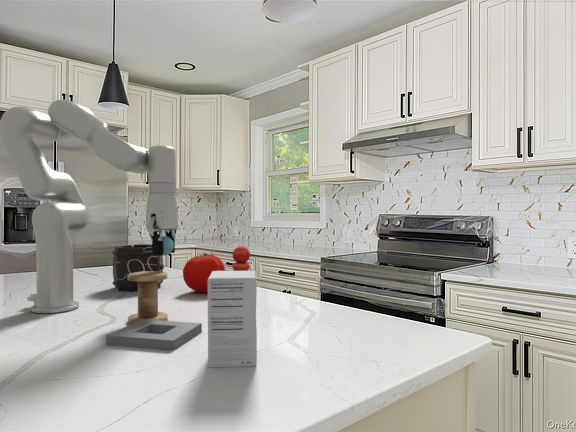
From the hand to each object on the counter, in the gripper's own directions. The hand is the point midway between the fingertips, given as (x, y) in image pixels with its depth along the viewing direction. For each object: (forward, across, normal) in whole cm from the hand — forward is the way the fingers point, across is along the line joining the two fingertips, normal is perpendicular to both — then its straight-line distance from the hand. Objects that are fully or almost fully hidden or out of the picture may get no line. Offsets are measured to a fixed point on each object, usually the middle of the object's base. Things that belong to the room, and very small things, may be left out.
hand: (163, 253), depth 122 cm
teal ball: (+1, 0, 0) cm, 1 cm away
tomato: (+17, -31, -2) cm, 35 cm away
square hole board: (+17, +22, +10) cm, 30 cm away
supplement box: (+18, +31, +33) cm, 48 cm away
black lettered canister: (+17, -32, -29) cm, 47 cm away
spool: (+17, +9, 0) cm, 19 cm away
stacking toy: (+17, -7, +20) cm, 28 cm away
